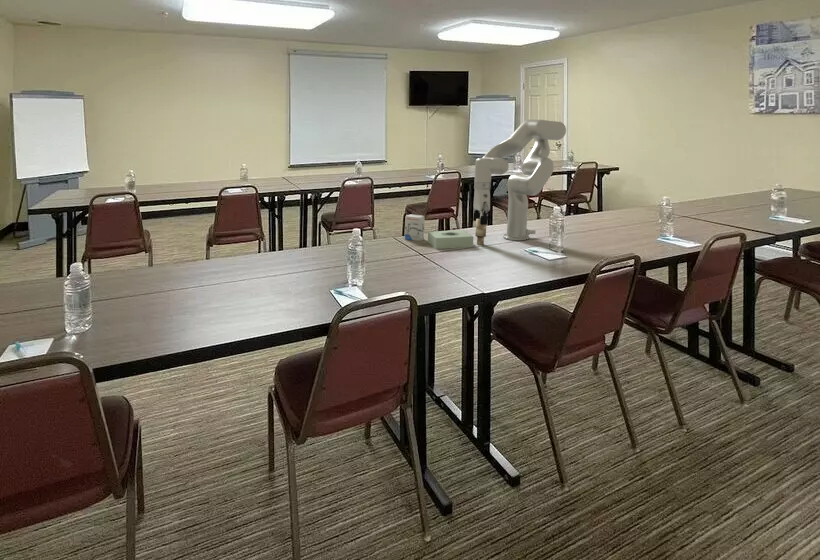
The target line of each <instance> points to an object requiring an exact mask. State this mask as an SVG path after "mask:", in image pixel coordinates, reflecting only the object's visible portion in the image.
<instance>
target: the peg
mask: <svg viewBox="0 0 820 560" xmlns="http://www.w3.org/2000/svg"><path fill="white" fill-rule="evenodd" d="M480 218H481V217H480ZM480 218H478V219H476V221H475V234H474V235H475V237H476V245H478V246H484V245H485V237H487V225H481V224H480Z"/></svg>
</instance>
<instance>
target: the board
mask: <svg viewBox="0 0 820 560" xmlns="http://www.w3.org/2000/svg"><path fill="white" fill-rule="evenodd" d="M427 243H428V244H430V245H431V246H432V247H433V248H434V249H435V250H436V249H437V250H438V249H439V250H440V249H455V248H456V249H457V248H460V249H461V248H473V247H474V235H472V234H471V233H469V232H468V231H466V230H465V229H462V230H461V229H460V230H458V229H457V230H456V229H455V230H438V231H427Z"/></svg>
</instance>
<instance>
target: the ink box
mask: <svg viewBox="0 0 820 560" xmlns="http://www.w3.org/2000/svg"><path fill="white" fill-rule="evenodd" d="M425 217H426V216H425V215H420V214H412V213H410V214H408V215H405V219H404V220H405V221H404V240H408V241H410V240H411V241H416V242H422V241H423V240H424V239H425Z"/></svg>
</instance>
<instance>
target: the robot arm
mask: <svg viewBox="0 0 820 560" xmlns="http://www.w3.org/2000/svg"><path fill="white" fill-rule="evenodd" d="M566 133H567V126H566V125H565V124H564V123H563V122H562V121H556V120H554V121H553V120H546V119H526V120H524V121H523V122H522V123H520V125H519V126H518V127H517V128H516V130H515V131H513V133H511V135H510V136H509V137H508V138H507V139H505V140H503V141H501V142H500V143H498V144H496V145H494V146H492V148H490V149H489V150H488V151H487V152H486V154H484V156H483V157H477V158H476V159H475V168H474V182H473V183H474V185H473V189H474V194H473V195H474V196H473V212H472V213H473V214H472V216H473V217H472V220H473V222H476V219H478V218H480V224H481V225H486V226H487V225H488V217H489V212H490V210H491V186H492V185H491V184H492V175H499V176H500V175H504V174H505V173H507V172H508V170H509V168H510V164H509V162H508V161H507V159H505V158H506V157H508V156H513V155H516V154H519V153H521V152H522V151H523V150H524V149H525V148H526V146H527V145H528V144H529V143H530V142H531V141H532V140H534V144H533V147H532V149H531V150H530V152H529V153H528V155H527V156H526V158H525V159H524V161H523V163H522V165H521V167H520V169H521V172H522V173H521V172H517V173H513V174H511V175H510V176H509V177H508V179H507V184H506V186H507V192H508V194H507V195H508V200H507V202H508V203H507V204H508V206H507V218H506V219H507V221H506V226H507V227H506V233H504V234H503V236H502V237H503V239H505V240H509V241H526V239H527V240H528V239H530V235H535V234H536V233H537V232H536V230H535V229H532V230H531V229H528V228H527V225H528V213H529V212H528V211H529V199H528V196H531V197H532V196H537V195H538V194H539V193H540V192H541V191H542V189H543V188H544V187H545V185H546V184H547V182H548V181H549V179H550V178H551V176H552V175H553V172H554V168H555V166H554V165H555V164H554V161H553V160H552V159H551V158H550V157H549V155H550V152H551V148H550V144H549V141H560V140H562V139H563V138H564V137H565V136H566Z"/></svg>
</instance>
